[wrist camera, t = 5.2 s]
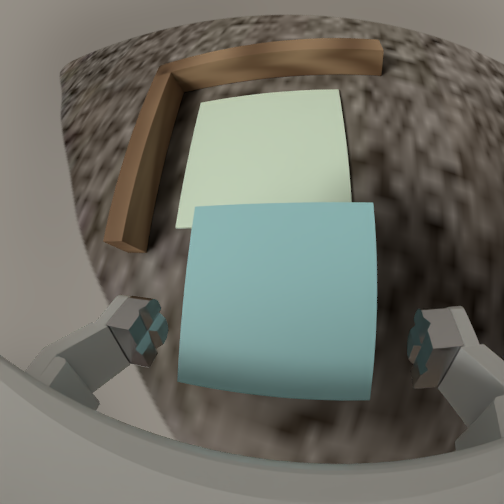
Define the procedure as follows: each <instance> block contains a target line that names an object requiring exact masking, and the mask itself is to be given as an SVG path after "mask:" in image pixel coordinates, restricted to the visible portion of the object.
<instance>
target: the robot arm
mask: <svg viewBox="0 0 504 504" xmlns="http://www.w3.org/2000/svg"><path fill="white" fill-rule="evenodd" d="M160 310H161V307H160V304H159V302H158V301H157V300H155V299H151V298H143V297H136V296H127V295H119V296H117V297H116V298H115V299H114V300H113V302H112V303H111V304H110V305H109V306H108V307H107V309H106V310H105V311H104V312H103V313H102V315H101V316H100V317H99V318H98V319H97V321H96V322H95V323H90V324H88V325H86V326H84V327H82V328H80V329H78V330H76V331H74V332H73V333H71V334H69V335H67V336H65V337H63V338H61V339H59V340H57V341H56V342H54V343H52V344H50V345H48V346H46V347H44V348H43V349H42V350H41V352H40V353H39V354H38V355H37V356H36V358H35V359H34V360H33V362H32V363H31V364H30V365H29V367H28V368H27V369H26V370H25V371H23V370H21V369H20V368H19V367H17V366H16V365H14V364H12V363H11V362H10V361H8V360H7V359H6V358H4V357H3V356H1V355H0V504H504V361H503V360H502V359H501V358H500V357H498V356H497V355H496V354H495V353H494V352H493V351H491V350H490V349H489V348H488V347H486V346H485V345H484V344H479V341H478V339H477V337H476V334H475V332H474V330H473V327H472V325H471V323H470V320H469V318H468V316H467V314H466V312H465V310H464V308H463V307H462V306H454V307H447V308H446V307H443V308H423V309H418V310H417V311H416V313H415V316H414V322H415V326H414V327H413V328H412V329H410V332H409V335H408V341H407V354H408V360H410V361H411V362H412V363H413V366H412V369H411V371H410V372H411V377H412V383H413V389H418V388H431V387H438V389H439V390H440V392H441V393H442V394H443V396H444V397H445V398H446V399H447V401H448V402H449V403H450V405H451V406H452V407H453V409H454V410H455V411H456V413H457V414H458V415H459V417H460V418H461V419H462V421H463V422H464V423H465V425H466V426H467V427H468V429H467V430H466V431H465V432H464V433H463V434H462V435H461V436H460V437H458V439H457V440H456V441H455V446H456V451H454V452H449V453H445V454H440V455H434V456H429V457H423V458H416V459H409V460H400V461H391V462H379V463H360V464H319V463H300V462H288V461H278V460H269V459H261V458H254V457H248V456H242V455H236V454H231V453H226V452H221V451H216V450H212V449H207V448H203V447H199V446H195V445H191V444H187V443H184V442H180V441H177V440H173V439H170V438H167V437H163V436H160V435H157V434H154V433H151V432H148V431H145V430H142V429H140V428H137V427H134V426H131V425H129V424H126V423H124V422H121V421H119V420H116V419H114V418H111V417H109V416H107V415H104V414H102V413H100V412H98V411H96V409H97V408H98V406H99V404H100V403H99V400H98V399H97V398H96V397H95V396H94V395H93V392H94V391H96V390H97V389H98V388H100V387H101V386H102V385H104V384H105V383H106V382H108V381H109V380H110V379H112V378H113V377H114V376H116V375H117V374H118V373H120V372H121V371H122V370H124V369H125V368H126V367H128V366H129V365H130V364H135V365H139V366H144V367H148V368H150V366H151V365H152V363H153V361H154V359H155V358H156V356H157V354H158V352H157V348H158V347H160V346H161V345H163V344H164V342H165V340H166V338H167V333H168V325H167V321H166V319H165V318H164V317H163V316H162V315H161V314H160Z"/></svg>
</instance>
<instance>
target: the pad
mask: <svg viewBox="0 0 504 504" xmlns="http://www.w3.org/2000/svg"><path fill="white" fill-rule="evenodd" d="M303 202H352V200H351V186H350V174H349V163H348V153H347V145H346V136H345V129H344V121H343V114H342V108H341V101H340V95H339V90H302V91H287V92H274V93H264V94H255V95H247V96H239V97H233V98H226V99H220V100H214V101H208V102H203V103H201V105H200V109H199V113H198V117H197V121H196V125H195V129H194V134H193V138H192V143H191V147H190V152H189V157H188V161H187V166H186V171H185V176H184V182H183V187H182V192H181V198H180V204H179V209H178V215H177V221H176V228H177V229H184V228H192V224H193V217H194V210H195V207H197V206H214V205H235V204H261V203H303Z"/></svg>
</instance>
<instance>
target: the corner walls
mask: <svg viewBox="0 0 504 504" xmlns="http://www.w3.org/2000/svg"><path fill="white" fill-rule="evenodd" d="M383 52H384V50H383V48H382V46H381V44H380V42H379V40H373V39H351V38H321V39H300V40H286V41H276V42H267V43H260V44H253V45H246V46H240V47H234V48H229V49H224V50H219V51H214V52H209V53H205V54H201V55H197V56H193V57H189V58H185V59H181V60H178V61H174V62H171V63H168V64H164V65H161V66H159V69H158V71H157V73H156V75H155V77H154V80H153V82H152V84H151V87H150V89H149V91H148V94H147V96H146V99H145V101H144V103H143V106H142V109H141V111H140V114H139V116H138V119H137V122H136V125H135V127H134V130H133V133H132V136H131V139H130V142H129V145H128V148H127V151H126V154H125V157H124V160H123V164H122V167H121V170H120V174H119V177H118V181H117V185H116V188H115V192H114V196H113V200H112V204H111V208H110V212H109V217H108V221H107V226H106V230H105V235H104V240H103V242H105V243H108V244H110V245H112V246H114V247H117V248H119V249H121V250H124V251H126V252H128V253H146V252H147V245H148V239H149V233H150V228H151V222H152V217H153V212H154V207H155V202H156V197H157V192H158V187H159V183H160V178H161V174H162V170H163V166H164V161H165V157H166V153H167V149H168V146H169V142H170V138H171V134H172V131H173V127H174V124H175V120H176V117H177V113H178V110H179V107H180V103H181V100H182V97H183V94H184V92H188V91H192V90H197V89H202V88H207V87H212V86H217V85H223V84H229V83H235V82H241V81H248V80H256V79H265V78H274V77H285V76H300V75H324V74H354V75H378V76H381V73H382V63H383Z"/></svg>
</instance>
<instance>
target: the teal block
mask: <svg viewBox="0 0 504 504" xmlns="http://www.w3.org/2000/svg"><path fill="white" fill-rule="evenodd" d="M376 318H377V255H376V234H375V218H374V206H373V203H366V202H303V203H261V204H235V205H214V206H197V207H195V210H194V217H193V224H192V231H191V239H190V246H189V254H188V263H187V271H186V280H185V290H184V299H183V310H182V321H181V334H180V347H179V363H178V381H177V382H182V383H187V384H192V385H197V386H202V387H208V388H213V389H219V390H225V391H232V392H239V393H246V394H254V395H263V396H272V397H283V398H296V399H313V400H370V394H371V386H372V377H373V366H374V354H375V339H376Z"/></svg>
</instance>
